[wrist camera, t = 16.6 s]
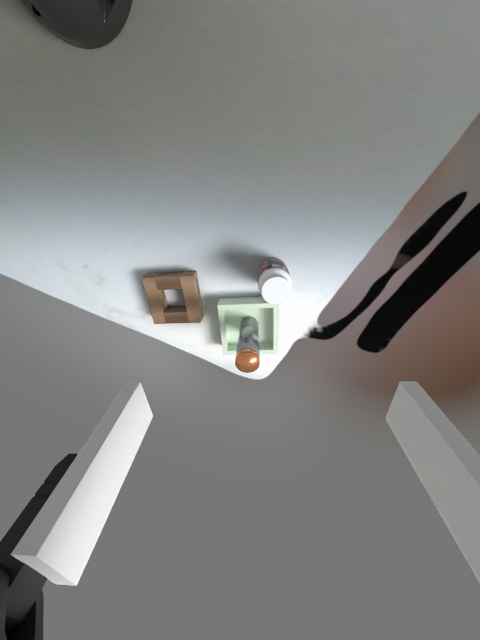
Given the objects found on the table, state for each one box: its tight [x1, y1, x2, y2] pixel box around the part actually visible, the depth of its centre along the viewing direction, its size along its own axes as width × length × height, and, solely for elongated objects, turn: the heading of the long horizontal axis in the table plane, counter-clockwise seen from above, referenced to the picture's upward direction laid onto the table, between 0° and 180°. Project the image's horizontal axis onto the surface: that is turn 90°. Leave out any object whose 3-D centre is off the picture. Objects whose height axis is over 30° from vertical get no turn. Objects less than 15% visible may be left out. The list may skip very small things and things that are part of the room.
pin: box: [235, 316, 259, 373], centre depth 43 cm, size 4×4×13 cm
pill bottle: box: [258, 258, 292, 304], centre depth 40 cm, size 6×6×10 cm
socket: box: [142, 271, 204, 324], centre depth 47 cm, size 10×10×3 cm
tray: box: [217, 297, 279, 355], centre depth 48 cm, size 12×12×4 cm
